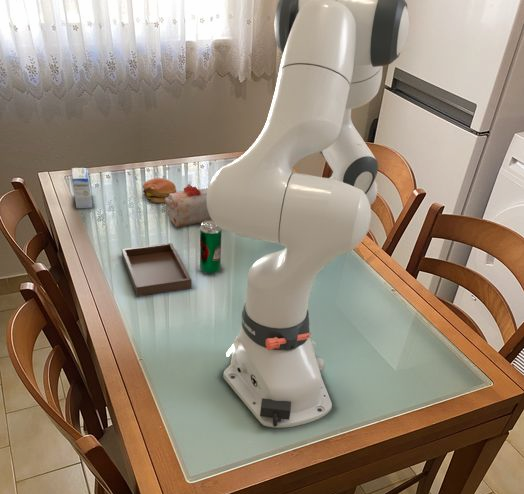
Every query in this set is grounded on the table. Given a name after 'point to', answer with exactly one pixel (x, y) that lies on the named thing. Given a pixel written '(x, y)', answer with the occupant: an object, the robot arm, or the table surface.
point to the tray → (155, 269)
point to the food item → (187, 206)
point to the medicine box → (81, 188)
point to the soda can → (210, 247)
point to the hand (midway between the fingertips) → (260, 203)
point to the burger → (158, 189)
